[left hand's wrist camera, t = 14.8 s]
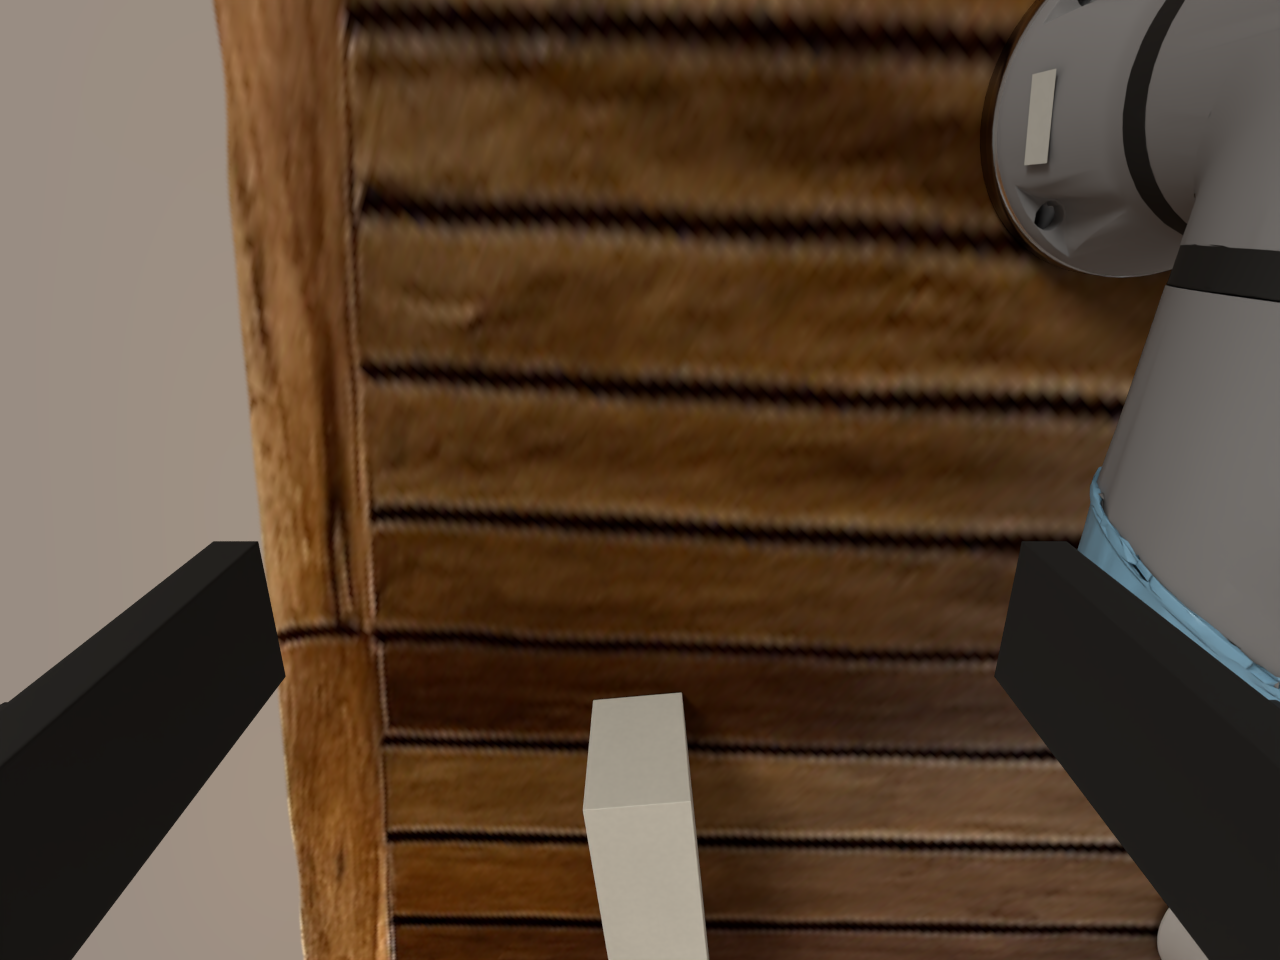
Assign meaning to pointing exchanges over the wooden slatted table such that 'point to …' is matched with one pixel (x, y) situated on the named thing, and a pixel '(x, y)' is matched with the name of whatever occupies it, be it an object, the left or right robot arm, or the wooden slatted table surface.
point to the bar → (644, 830)
